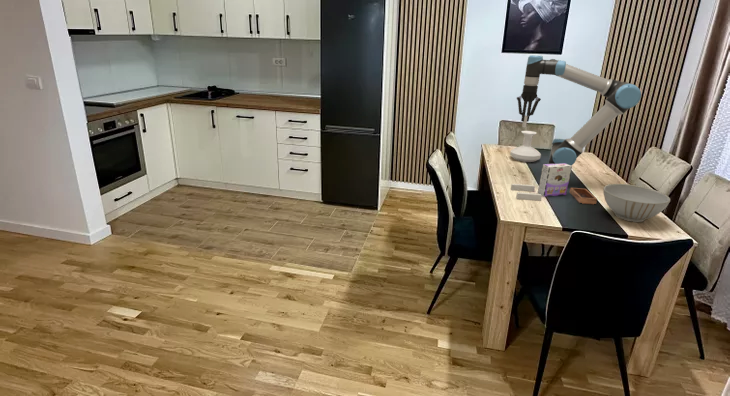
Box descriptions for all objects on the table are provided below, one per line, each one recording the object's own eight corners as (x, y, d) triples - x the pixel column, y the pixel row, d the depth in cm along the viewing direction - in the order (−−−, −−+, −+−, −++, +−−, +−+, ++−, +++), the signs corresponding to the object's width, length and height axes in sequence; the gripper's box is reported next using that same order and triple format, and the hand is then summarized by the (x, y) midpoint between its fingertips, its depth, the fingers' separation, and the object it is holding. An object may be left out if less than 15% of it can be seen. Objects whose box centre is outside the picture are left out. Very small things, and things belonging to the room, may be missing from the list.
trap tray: (584, 193, 230) (585, 188, 229) (595, 204, 215) (597, 199, 214) (569, 192, 231) (570, 187, 230) (579, 203, 216) (580, 197, 215)
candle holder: (542, 159, 296) (547, 132, 289) (536, 165, 280) (541, 136, 273) (513, 154, 306) (517, 128, 299) (505, 160, 290) (510, 132, 283)
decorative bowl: (637, 232, 184) (644, 206, 180) (585, 210, 207) (590, 186, 203) (676, 224, 195) (684, 199, 190) (622, 203, 218) (628, 181, 213)
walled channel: (533, 190, 233) (534, 185, 232) (540, 200, 218) (542, 195, 217) (510, 188, 234) (511, 183, 233) (516, 199, 219) (517, 193, 218)
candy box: (559, 191, 232) (565, 162, 226) (566, 195, 227) (572, 165, 221) (537, 192, 229) (542, 163, 223) (543, 196, 224) (549, 166, 218)
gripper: (541, 84, 237) (533, 126, 246) (517, 83, 239) (510, 125, 247) (544, 86, 230) (537, 129, 239) (520, 85, 232) (513, 127, 240)
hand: (523, 127), depth 243 cm, fingers closed
